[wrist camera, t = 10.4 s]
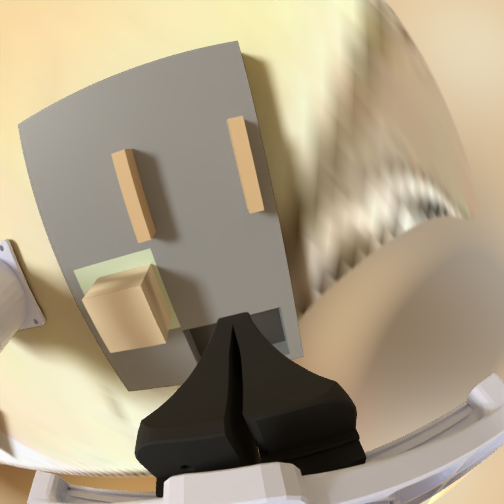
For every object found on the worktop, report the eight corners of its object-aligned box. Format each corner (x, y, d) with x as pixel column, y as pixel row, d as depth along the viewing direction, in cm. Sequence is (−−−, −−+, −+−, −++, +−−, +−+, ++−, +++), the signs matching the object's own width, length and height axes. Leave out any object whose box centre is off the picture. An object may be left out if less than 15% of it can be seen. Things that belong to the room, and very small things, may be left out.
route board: (132, 375, 23) (125, 404, 20) (33, 124, 15) (5, 124, 12) (297, 341, 24) (308, 369, 21) (235, 50, 15) (240, 31, 12)
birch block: (121, 326, 19) (110, 352, 16) (98, 277, 18) (81, 300, 15) (171, 316, 19) (166, 343, 16) (150, 263, 18) (140, 285, 15)
